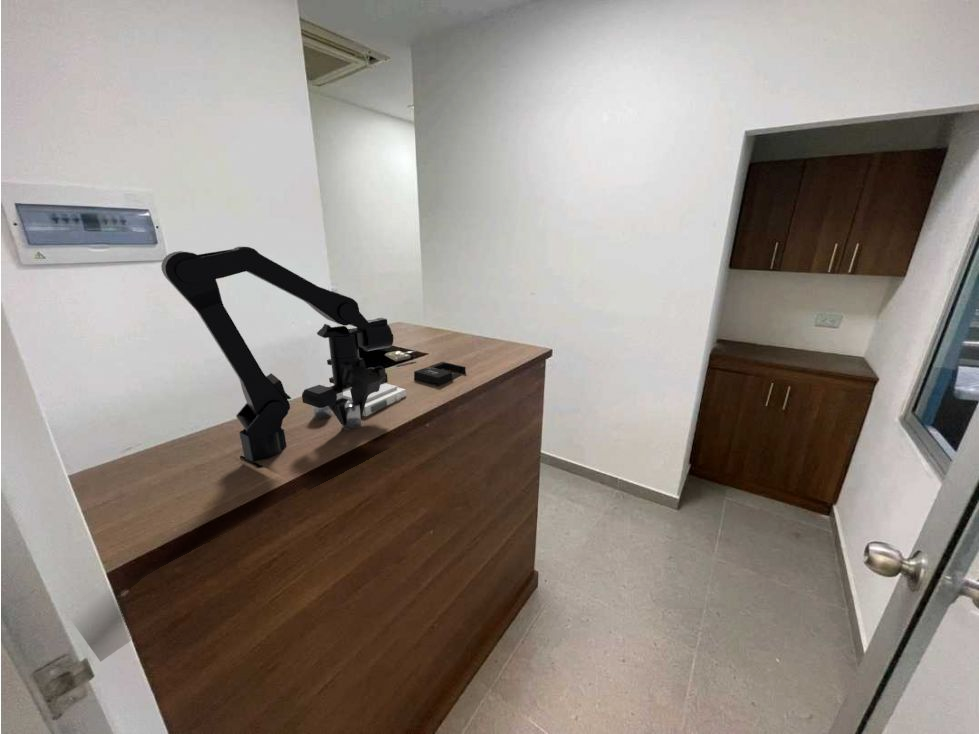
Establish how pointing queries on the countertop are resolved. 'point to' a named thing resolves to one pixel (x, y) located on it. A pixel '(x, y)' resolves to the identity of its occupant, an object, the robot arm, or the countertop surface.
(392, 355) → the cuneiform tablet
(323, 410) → the spacer
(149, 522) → the countertop surface
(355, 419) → the spacer
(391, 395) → the scale
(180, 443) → the countertop surface
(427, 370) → the battery charger
